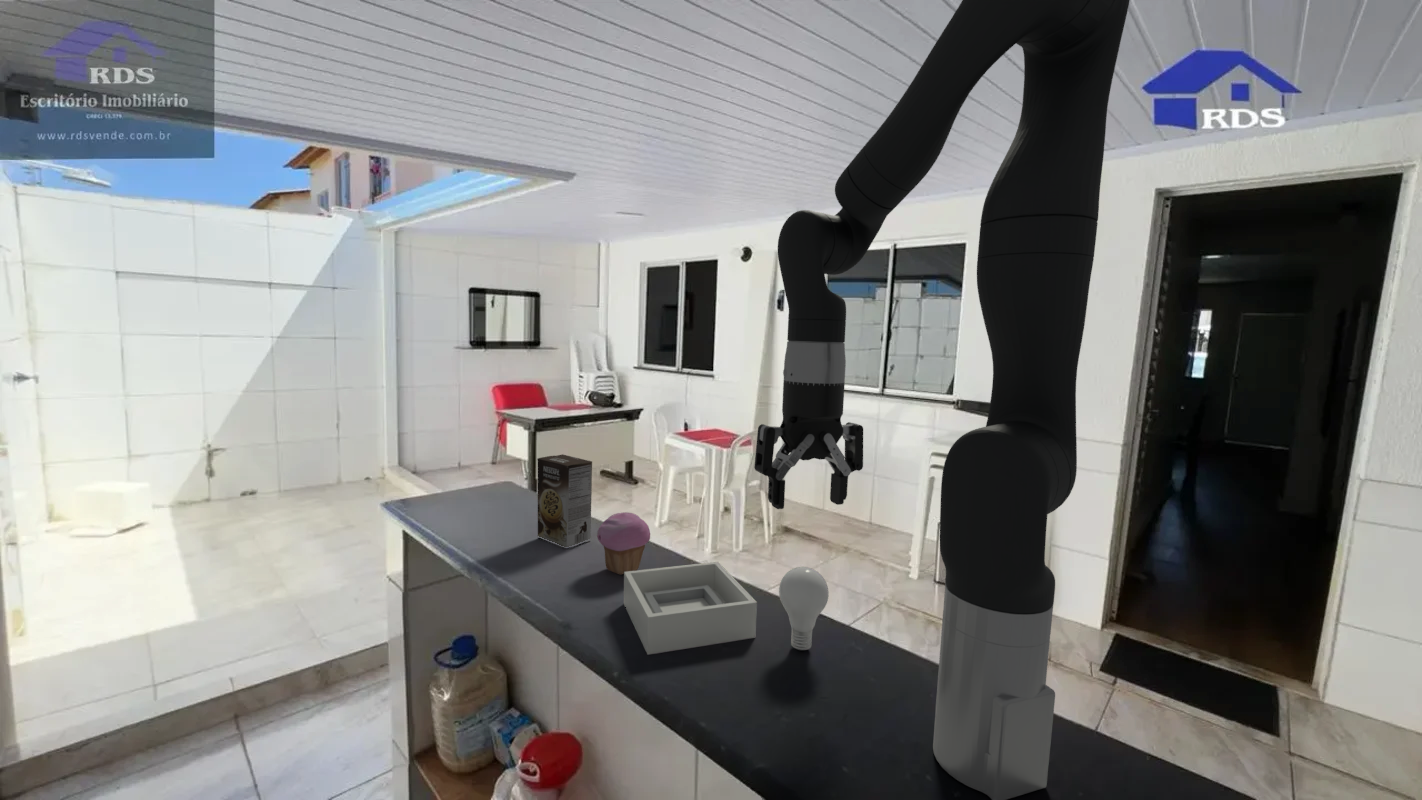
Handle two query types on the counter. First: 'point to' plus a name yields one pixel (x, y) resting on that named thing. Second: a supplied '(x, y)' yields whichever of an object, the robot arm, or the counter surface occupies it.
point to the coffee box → (564, 499)
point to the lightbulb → (803, 602)
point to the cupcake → (623, 541)
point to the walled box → (688, 607)
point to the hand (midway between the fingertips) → (807, 505)
